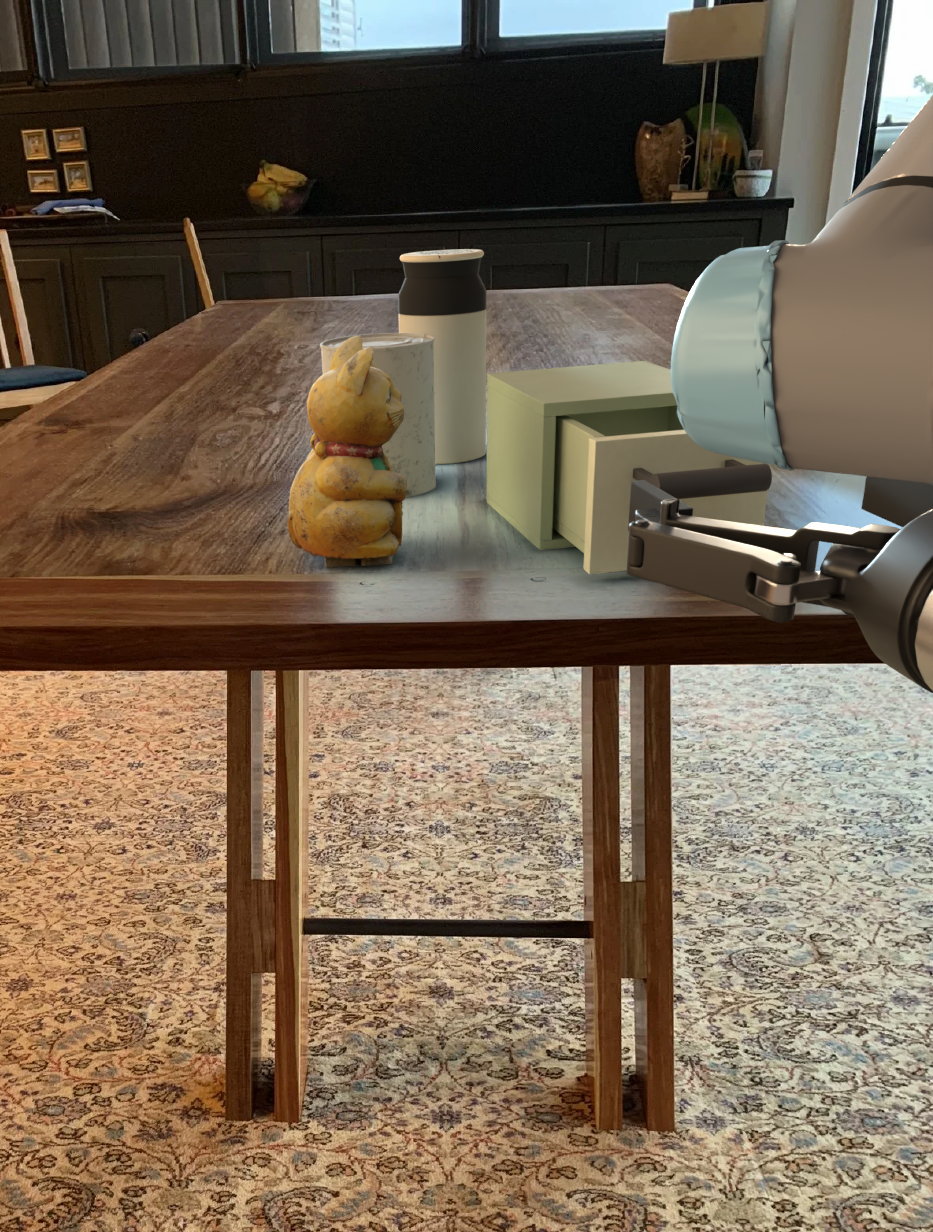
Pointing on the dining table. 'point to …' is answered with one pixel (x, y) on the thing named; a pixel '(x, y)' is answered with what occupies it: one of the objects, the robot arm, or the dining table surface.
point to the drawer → (642, 450)
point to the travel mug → (451, 344)
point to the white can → (405, 401)
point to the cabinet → (552, 431)
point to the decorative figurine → (350, 465)
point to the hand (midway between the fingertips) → (754, 494)
